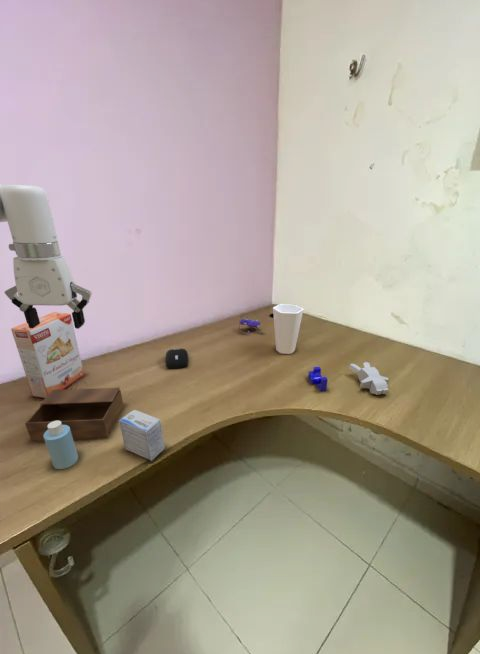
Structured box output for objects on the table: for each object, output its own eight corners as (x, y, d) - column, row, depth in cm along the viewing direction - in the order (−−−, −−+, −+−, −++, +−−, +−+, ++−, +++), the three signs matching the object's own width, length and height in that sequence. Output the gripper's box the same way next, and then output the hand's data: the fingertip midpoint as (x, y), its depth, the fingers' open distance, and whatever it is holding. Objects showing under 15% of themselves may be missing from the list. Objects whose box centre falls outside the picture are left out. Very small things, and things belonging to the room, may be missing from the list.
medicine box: (165, 449, 71) (161, 418, 67) (151, 462, 67) (146, 431, 64) (139, 438, 74) (134, 408, 70) (124, 450, 70) (118, 419, 67)
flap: (40, 405, 75) (39, 404, 75) (53, 390, 80) (52, 389, 80) (112, 402, 77) (111, 401, 77) (119, 388, 82) (119, 387, 82)
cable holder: (308, 377, 102) (309, 367, 101) (318, 377, 103) (319, 366, 101) (315, 391, 95) (316, 380, 94) (326, 390, 96) (327, 379, 94)
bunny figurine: (370, 387, 91) (347, 359, 103) (366, 400, 93) (344, 371, 106) (398, 384, 93) (372, 356, 105) (393, 397, 96) (368, 368, 108)
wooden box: (31, 441, 72) (24, 423, 69) (58, 408, 83) (53, 391, 81) (107, 437, 74) (103, 419, 71) (123, 405, 85) (120, 389, 83)
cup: (298, 345, 125) (302, 304, 118) (300, 356, 116) (304, 313, 109) (271, 343, 125) (273, 303, 118) (270, 355, 116) (272, 312, 109)
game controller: (257, 317, 142) (266, 320, 134) (253, 334, 143) (261, 338, 134) (237, 312, 138) (245, 315, 129) (233, 330, 139) (240, 334, 130)
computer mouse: (187, 352, 116) (187, 342, 114) (188, 368, 105) (187, 357, 103) (166, 354, 114) (165, 344, 112) (165, 370, 103) (164, 359, 102)
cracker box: (50, 400, 86) (29, 330, 77) (31, 397, 87) (8, 328, 78) (86, 375, 99) (71, 312, 90) (69, 372, 99) (53, 310, 91)
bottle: (49, 470, 64) (35, 432, 60) (59, 453, 69) (47, 417, 64) (72, 468, 65) (61, 431, 61) (81, 452, 69) (71, 416, 65)
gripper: (-21, 251, 60) (6, 332, 68) (74, 255, 63) (90, 332, 70) (4, 246, 67) (26, 320, 74) (89, 249, 69) (102, 321, 77)
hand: (57, 326), depth 72 cm, fingers open, 9 cm apart
